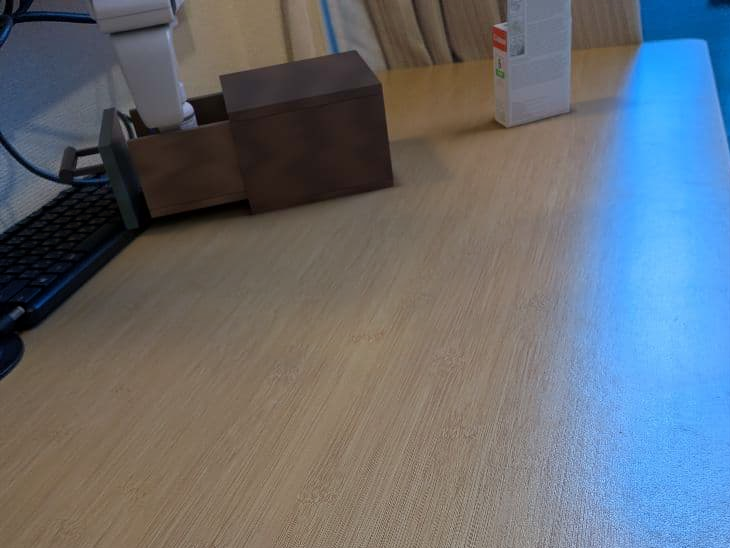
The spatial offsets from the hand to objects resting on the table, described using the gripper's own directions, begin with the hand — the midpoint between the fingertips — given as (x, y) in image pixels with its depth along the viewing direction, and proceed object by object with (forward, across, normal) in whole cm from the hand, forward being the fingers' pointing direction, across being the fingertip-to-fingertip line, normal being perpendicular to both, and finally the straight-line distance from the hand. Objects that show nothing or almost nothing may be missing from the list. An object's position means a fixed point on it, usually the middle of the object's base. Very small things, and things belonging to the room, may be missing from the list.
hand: (178, 147), depth 84 cm
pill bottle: (+3, 0, 0) cm, 3 cm away
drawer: (+5, 0, -2) cm, 5 cm away
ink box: (+6, -5, +40) cm, 40 cm away
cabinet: (+6, 0, +13) cm, 14 cm away
